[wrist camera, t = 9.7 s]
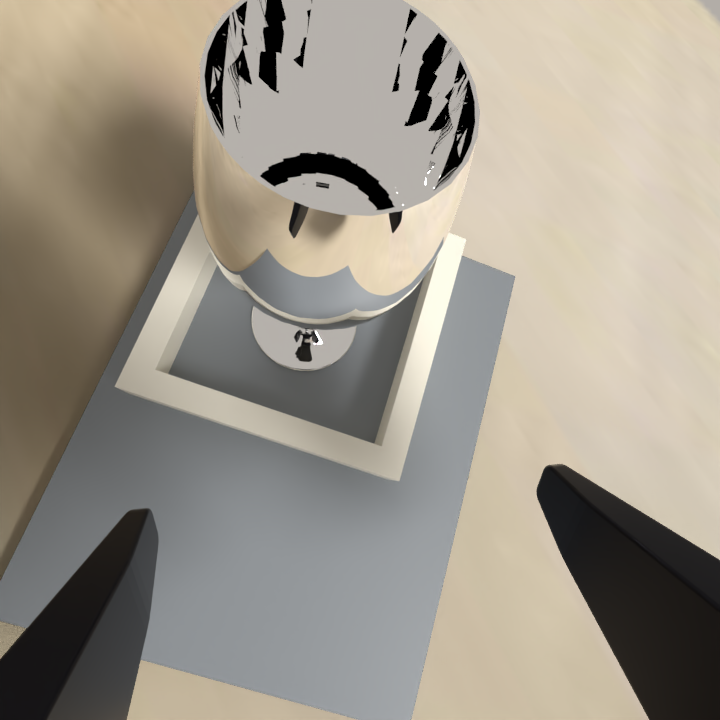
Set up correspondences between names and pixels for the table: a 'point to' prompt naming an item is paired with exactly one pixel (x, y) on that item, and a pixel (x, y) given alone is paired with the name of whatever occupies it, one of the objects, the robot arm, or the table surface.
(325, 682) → the square frame board
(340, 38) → the wineglass
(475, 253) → the table surface
